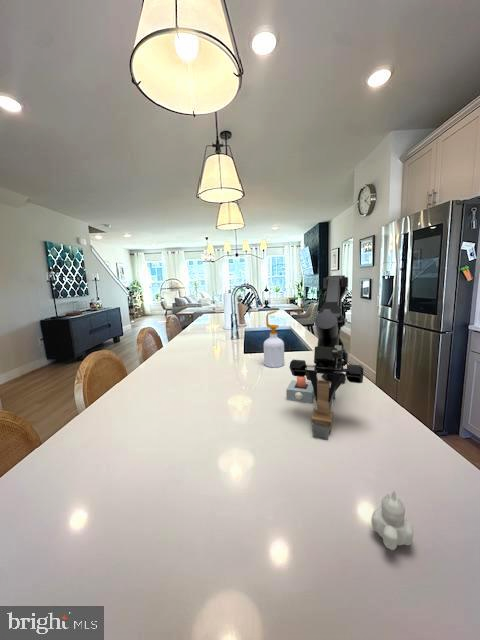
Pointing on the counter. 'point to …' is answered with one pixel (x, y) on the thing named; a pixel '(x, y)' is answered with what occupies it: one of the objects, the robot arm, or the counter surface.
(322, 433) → the rail
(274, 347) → the soap bottle
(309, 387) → the box
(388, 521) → the white animal figurine
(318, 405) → the wooden t-block
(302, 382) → the button
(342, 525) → the counter surface
